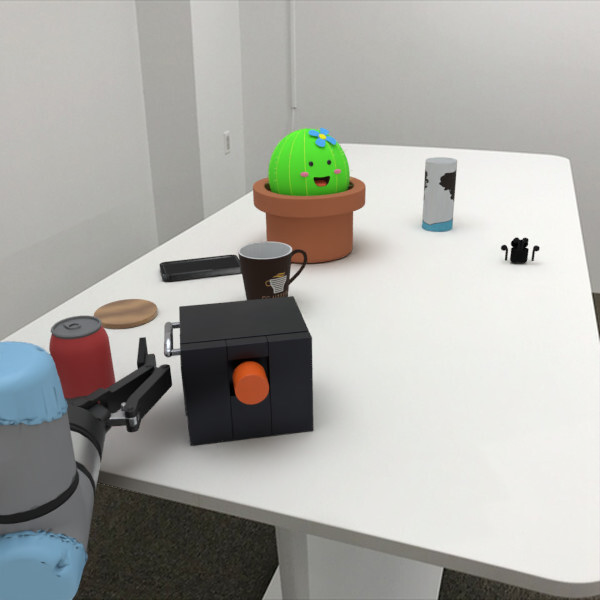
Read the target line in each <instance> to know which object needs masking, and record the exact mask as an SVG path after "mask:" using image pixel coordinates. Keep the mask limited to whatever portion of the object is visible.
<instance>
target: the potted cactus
mask: <svg viewBox="0 0 600 600" xmlns="http://www.w3.org/2000/svg"><path fill="white" fill-rule="evenodd" d="M315 127H316V126H314V127H313V128H309V127H308V128H307V127H306V125H303V128H302V127H300V128H299V129H297V130H296V128H294V130H293V131H291V130H289V131H288V133H287V135H286V136H284V137H283V138H282V137H280V139H278V141H279V142H278V143H277V145H276V146H273V152H272V153H271V156H270V160H269V161H268V162H269V163H268V169H267V172H265V174H266V175H265V177H263V178H262V179H259V180H257V181H255V182H254V183H253V185H252V198H253V199H252V200H253V206H254V207H255V208H256V209H257V210H258V211H260V212H262V213H264V214H265V228H266V229H265V230H266V242H280V243H285V244H287V245H289V246H291V247H292V251H293V250H296V249H300V250H303V251H305V252H306V254H307V264H315V263H324V262H331V261H336V260H339V259H342V258H345V257H346V256H348V255H349V254H351V253H352V251H353V248H354V212H356V211H358V210H360V209H362V208H364V206H365V205H366V183H365V182H364V181H362V180H361V179H360V178H357V177H354V176H350V175H351V172H352V170H351V169H350V164H349V161H348V158H347V156H346V153H345V152H346V151H347V149H346V150H344V149H343V148H342V146H341V145H342V144H339V142H338V141H337V139H336V138H335V137H333V136H331V135H330V134H329V133H330V130H328V129H327V128H324V127H319V126H317V127H316V128H315ZM303 262H304V256H303V254H302V253H296V254H294V255H293V256H292V259H291V263H294V264H295V263H296V264H303Z"/></svg>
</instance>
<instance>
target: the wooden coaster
mask: <svg viewBox="0 0 600 600" xmlns="http://www.w3.org/2000/svg"><path fill="white" fill-rule="evenodd" d="M158 313H159V311H158V306H157V304H156V303H154V302H153V301H151V300H147V299H142V298H128V299H127V298H125V299H119V300H115V301H112V302H108V303H105V304H103V305H102V306H100V307H98V308H97V309H96V310H95V311H94V313H93V316H94V317H96V318H99V319H100V320H101V321H102V326H103V328H104V329H111V330H112V329H113V330H121V329H122V330H123V329H130V328H135V327H139V326H142V325H145V324H147V323H149V322H151V321H153V320H154V319H155V318H157V316H158Z"/></svg>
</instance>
